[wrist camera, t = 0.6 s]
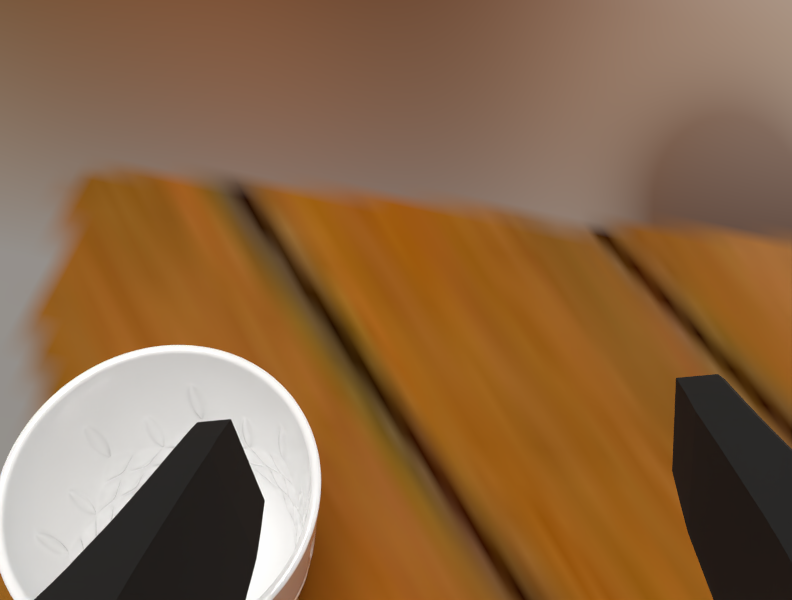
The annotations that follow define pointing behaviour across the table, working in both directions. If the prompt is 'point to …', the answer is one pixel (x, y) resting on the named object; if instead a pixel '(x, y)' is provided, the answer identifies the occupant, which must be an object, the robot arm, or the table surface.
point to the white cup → (154, 461)
